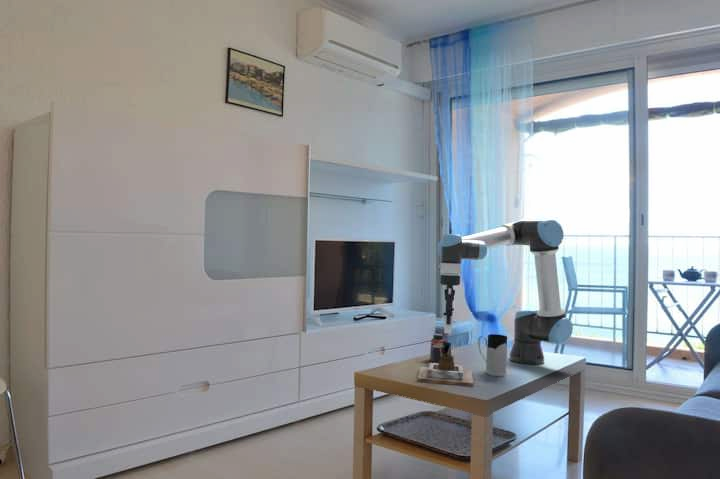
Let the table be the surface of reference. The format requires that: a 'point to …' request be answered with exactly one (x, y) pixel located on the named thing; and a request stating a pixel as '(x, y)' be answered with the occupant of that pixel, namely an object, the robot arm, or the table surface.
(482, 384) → the table surface
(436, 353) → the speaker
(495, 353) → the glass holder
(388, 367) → the table surface
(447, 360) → the utensil holder
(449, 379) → the socket plate
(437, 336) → the supplement bottle
